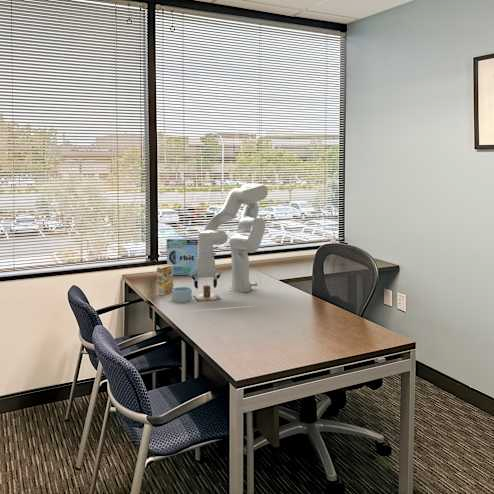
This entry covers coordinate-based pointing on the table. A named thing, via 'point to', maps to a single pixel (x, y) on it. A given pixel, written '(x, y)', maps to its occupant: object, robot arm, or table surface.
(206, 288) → the brass cover
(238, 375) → the table surface
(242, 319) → the table surface
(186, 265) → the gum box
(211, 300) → the rubber mat
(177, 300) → the ceramic bowl
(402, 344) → the table surface
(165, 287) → the candy box
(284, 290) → the table surface
